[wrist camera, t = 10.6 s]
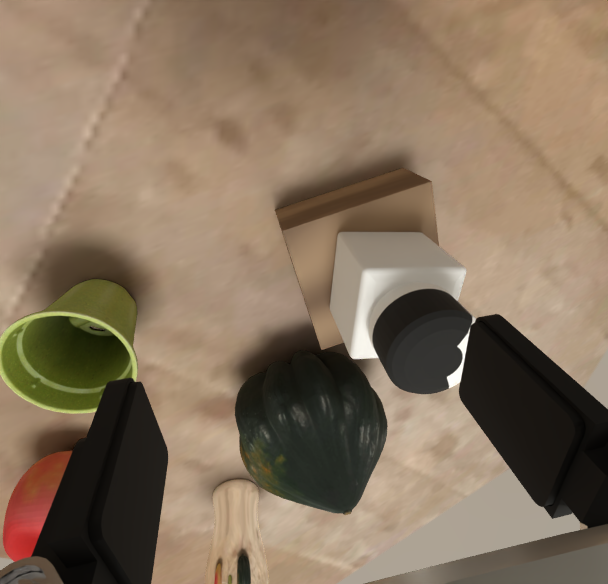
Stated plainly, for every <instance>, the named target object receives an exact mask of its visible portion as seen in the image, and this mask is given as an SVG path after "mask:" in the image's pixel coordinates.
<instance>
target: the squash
mask: <svg viewBox="0 0 608 584" xmlns="http://www.w3.org/2000/svg"><path fill="white" fill-rule="evenodd" d="M235 417H236V422H237V426H238V430H239V434H240V440H239V441H240V454H241V457H242V460H243V462H244V465H245V467H246V469H247V470H248V472H249V474H250V475H251V477H252V478H253V479H254V481H255V482H256V483H257V484H258V485H259V486H260V487H262V488H263V489H265V490H266V491H268V492H270V493H272V494H274V495H277V496H279V497H281V498H284V499H287V500H291V501H294V502H297V503H300V504H303V505H307V506H310V507H314V508H317V509H321V510H325V511H328V512H332V513H343V514H344V515H348V514H351V512H352V509H353V508H354V507H355V506H356V505H357V503H358V502H359V500H360V499H361V497H362V495H363V492H364V490H365V487H366V485H367V483H368V481H369V478H370V476H371V474H372V472H373V470H374V468H375V466H376V464H377V462H378V460H379V457H380V455H381V452H382V450H383V447H384V444H385V441H386V436H387V419H386V415H385V412H384V408H383V405H382V402H381V400H380V398H379V397H378V395H377V393H376V392H375V391H374V390H373V388H372V387H371V386H370V384H369V382H368V380H367V378H366V376H365V375H364V373H363V372H362V371H361V369H360V368H359V367H358V366H357V365H356V364H355V363H354V362H352V361H351V360H350V359H349V358H348V357H346V356H344V355H342V354H339V353H335V352H326V353H321V354H318V355H316V356H315V355H314V354H312V353H311V352H309V351H304V350H301V351H298V352H296V353H295V354H294V355H293V357H292V360H291V364H288V363H286V362H283V361H278V362H274V363H272V364H271V365H270V366H269V367H268V369H267V373H260V374H257V375H255V376H252V377H251V378H249V379H248V380H247V381H246V382H245V383H244V384H243V386H242V387H241V389H240V390H239V393H238V396H237V400H236V406H235Z"/></svg>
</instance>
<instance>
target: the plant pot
mask: <svg viewBox="0 0 608 584" xmlns="http://www.w3.org/2000/svg"><path fill="white" fill-rule="evenodd" d="M136 318H137V307H136V303H135V301H134V300H133V299H132V297H131V296H130V295H129V293H128V292H127V291H126V290H125V289H124V288H123V287H121V286H120V285H118V284H116V283H113V282H111V281H107V280H101V279H91V280H87V281H84V282H82V283H79V284H77V285H75V286H74V287H72V288H71V289H70V290H69V291H67V292H66V293H65V294H64V295H63V296H61V297H60V298H59V299H58V300H56V301H55V302H54V303H53V304H51V305H50V306H49V307H48V308H46V309H45V310H43V311H41V312H36V313H33V314H30V315H28V316H25V317H23V318H21V319H19V320H17V321H16V322H14V323H13V324H12V325H11V326H9V327H8V328H7V329H6V330H5V332H4V333H3V334H2V336H1V337H0V375H1V376H2V378H3V380H4V382H5V383H6V384H7V385H8V386H9V388H10V389H12V390H13V391H14V392H15V393H16V394H17V395H18V396H20V397H22V398H23V399H25V400H26V401H28V402H31V403H32V404H35V405H36V406H39V407H41V408H44V409H47V410H51V411H55V412H62V413H71V414H76V413H91V412H96V411H97V408H98V405H99V402H100V400H101V397H102V394H103V392H104V389H105V386H106V384H107V383H108V382H109V381H114V380H119V379H125V378H133V379H134V381H136V378H137V373H138V363H137V357H136V354H135V351H134V348H133V341H134V333H135V325H136ZM90 326H93V327H97V328H101V329H105V331H96V330H93V329H91V328H90Z"/></svg>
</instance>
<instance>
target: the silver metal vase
mask: <svg viewBox="0 0 608 584" xmlns="http://www.w3.org/2000/svg"><path fill="white" fill-rule="evenodd" d="M212 501H213V508H214V515H215V523H214V531H213V537H212V541H211V546H210V551H209V555H208V560H207V566H206V572H205V581H204V584H269V573H268V565H267V560H266V555H265V550H264V546H263V542H262V538H261V534H260V529H259V525H258V515H257V511H258V501H259V489H258V487H257V486H256V485H255V484H254V483H253V482H251V481H248V480H244V479H234V480H229V481H226V482H224V483H222V484H221V485H219V486H218V487H217V488H216V489H215V490H214V492H213V496H212Z"/></svg>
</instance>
